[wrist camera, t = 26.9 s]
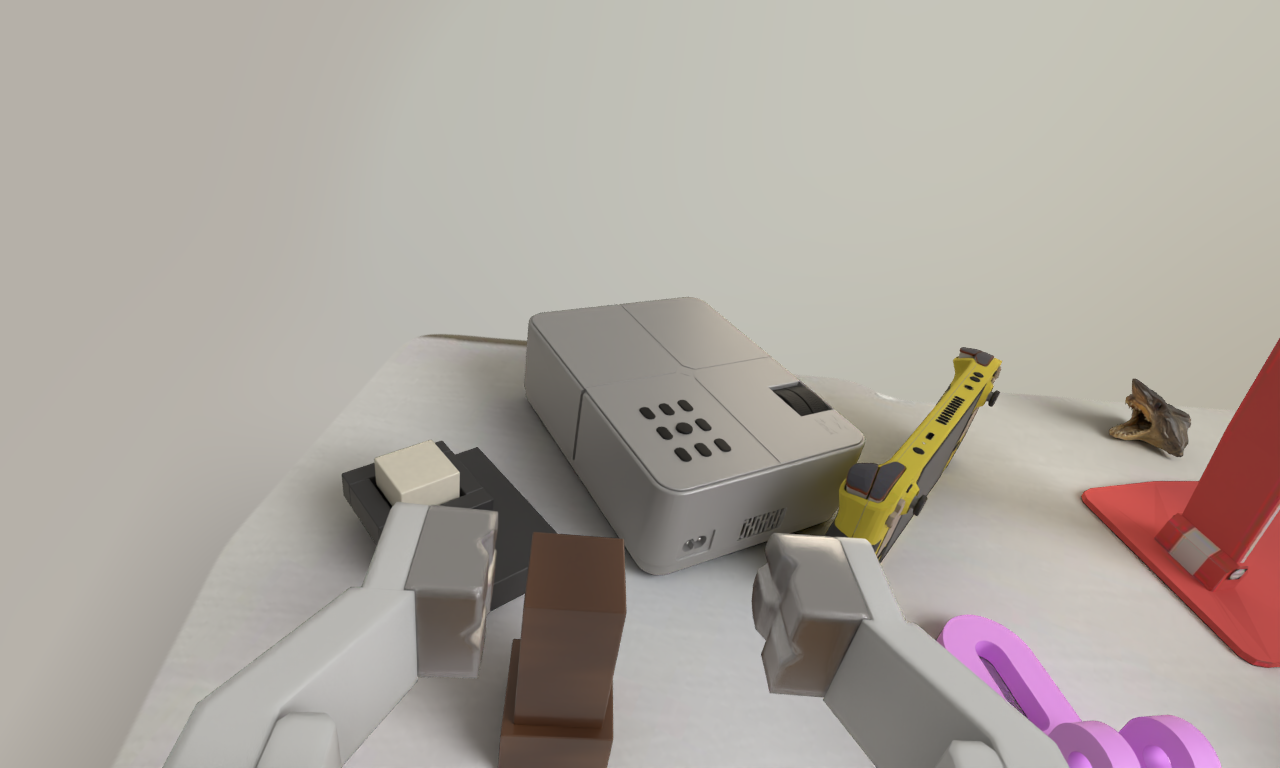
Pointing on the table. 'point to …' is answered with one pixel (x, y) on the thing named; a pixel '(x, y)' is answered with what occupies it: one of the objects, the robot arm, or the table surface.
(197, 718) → the robot arm
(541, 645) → the brown stepped pedestal
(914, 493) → the gaming console
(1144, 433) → the shark head
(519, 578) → the black stepped base
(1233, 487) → the desk lamp
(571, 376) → the projector
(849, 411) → the table surface
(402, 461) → the cream rectangular block
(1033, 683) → the bracket
